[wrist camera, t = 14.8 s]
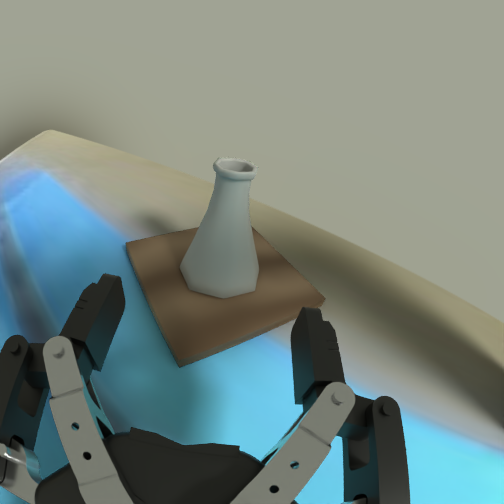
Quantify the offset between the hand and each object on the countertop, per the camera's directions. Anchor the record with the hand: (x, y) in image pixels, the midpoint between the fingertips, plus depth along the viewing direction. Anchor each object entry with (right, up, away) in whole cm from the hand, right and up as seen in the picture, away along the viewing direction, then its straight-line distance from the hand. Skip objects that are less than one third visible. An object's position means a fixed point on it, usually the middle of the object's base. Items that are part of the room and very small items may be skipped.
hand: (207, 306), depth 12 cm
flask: (-1, 0, +13) cm, 13 cm away
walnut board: (-1, 0, +14) cm, 14 cm away
